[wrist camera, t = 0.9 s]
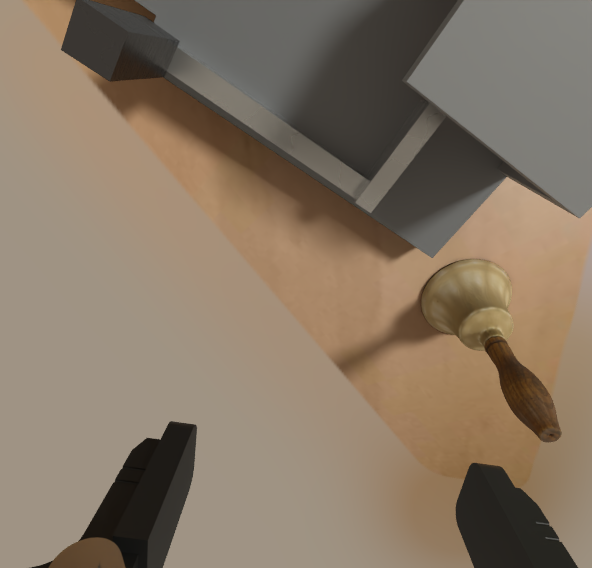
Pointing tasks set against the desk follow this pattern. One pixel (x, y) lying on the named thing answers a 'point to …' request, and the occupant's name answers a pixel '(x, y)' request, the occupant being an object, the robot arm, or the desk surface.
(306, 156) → the grey bar handle
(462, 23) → the cubby
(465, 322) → the hand bell
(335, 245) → the desk surface
